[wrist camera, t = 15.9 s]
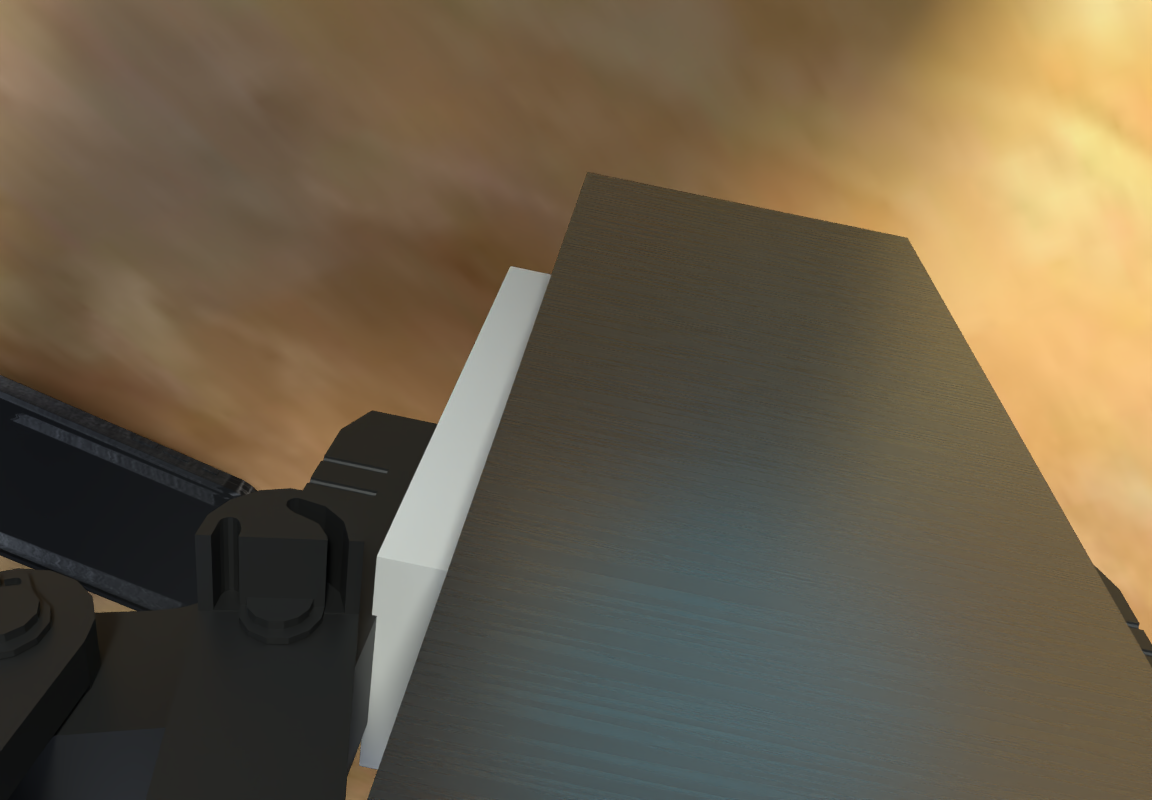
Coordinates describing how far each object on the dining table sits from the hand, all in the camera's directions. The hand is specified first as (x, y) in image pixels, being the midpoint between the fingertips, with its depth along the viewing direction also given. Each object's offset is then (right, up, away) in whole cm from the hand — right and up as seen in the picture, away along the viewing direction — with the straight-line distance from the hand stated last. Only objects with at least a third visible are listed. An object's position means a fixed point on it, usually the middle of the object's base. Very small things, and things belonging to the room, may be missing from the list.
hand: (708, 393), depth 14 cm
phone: (-22, -3, +22) cm, 31 cm away
